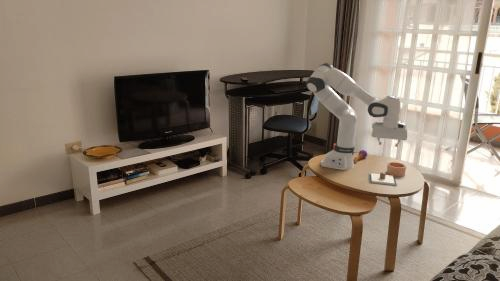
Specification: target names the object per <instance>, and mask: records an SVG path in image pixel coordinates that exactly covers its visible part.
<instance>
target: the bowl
mask: <svg viewBox="0 0 500 281" xmlns="http://www.w3.org/2000/svg"><path fill="white" fill-rule="evenodd" d="M406 170H407V165H406V164H404V163H402V162H396V161H389V162H387V166H386V174H387V175H392V176H393V177H404V176H405V175H406V172H407V171H406Z"/></svg>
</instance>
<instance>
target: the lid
mask: <svg viewBox="0 0 500 281" xmlns="http://www.w3.org/2000/svg"><path fill="white" fill-rule="evenodd" d="M370 174H371V183H379V184H388V185H394V184H395V183H394V179H393V177H394V176H392V175H389V174H387V172H384V171H383V172H382V171H381V172H380V173H370ZM371 183H370V184H371ZM379 184H378V185H379ZM388 185H387V186H388Z"/></svg>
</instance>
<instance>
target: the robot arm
mask: <svg viewBox="0 0 500 281" xmlns="http://www.w3.org/2000/svg"><path fill="white" fill-rule="evenodd" d="M306 88H307V90H309V92H311V93H313V95H314V96H315V98H316V99H317V100H318V101H319V102H320V103H321V104H322V105H323V106H324V107H325V108H326V109H327V110H328V111H329V112H330V113H331V114H333V115H334V116H335V117H336V118H337V119H338V120H339V122H338V131H337V141H336V143H333V149H332V150H331V151H328V152H327V153H326V154H325V156H324V158H323V159H321V160H320V166H321V167H324V168H329V169H334V170H341V171H346V170H349V169H353V168H355V164H354V161H353V159H354V155H355V140H356V139H355V138H356V132H357V125H358V115H357V113H356V110H355V109H353V108H352V106H350V105H349V104H348V103H347V102H346V101H345V100H344V99H343V98H341V96H340V95H338V94H337V92H338V93H339V94H341V95H342V96H346V97H348V96H349V97H354V98H357V99H358V100H360V101H361V102H363V103H364V104H366V106H367V113H368V115H369V116H370V117H373V118H382V117H383V118H382V122H379V121H375V122H372V123H371V129H372V132H371V137H372V138H377V141H378V145H379V146H382V144H383V142H382V141H381V139H387V140H397V142H396V143H395V145H394V147H397V148H398V146H399V145H400V143H401V141H406V140H408V129H407V123H406V122H404V121H402V120H400V113H401V100H400V98H399V97H397V96H394V95H387V96H385V97H383V98H381V97H376V96H374V95H372V94H370V93H369V92H368V91H366V90H365V89H363V88H362V87H361V86H360V85H359V84H358V83H357V82H356V81H355V80H354V79H353V78H351V77H350V75H348V74H347V73H345V72H343V71H342V70H340V69H338V68H336V67H334V66H333V65H332V64H330V63H328V62H325V63H322V64H320V65H319V66H318V67H317V68H316V69H315V70H314V71H313V73H312V74H311V75H310V76H309V77H308V79H307V80H306ZM334 90H335V91H334Z"/></svg>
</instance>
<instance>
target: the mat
mask: <svg viewBox="0 0 500 281" xmlns="http://www.w3.org/2000/svg"><path fill="white" fill-rule="evenodd" d="M393 179H394V183H395V184H394V185H388V184H379V183H371V173H368V184H372V185H379V186H388V187H389V186H390V187H398V185H397V180H396V176H393Z"/></svg>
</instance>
